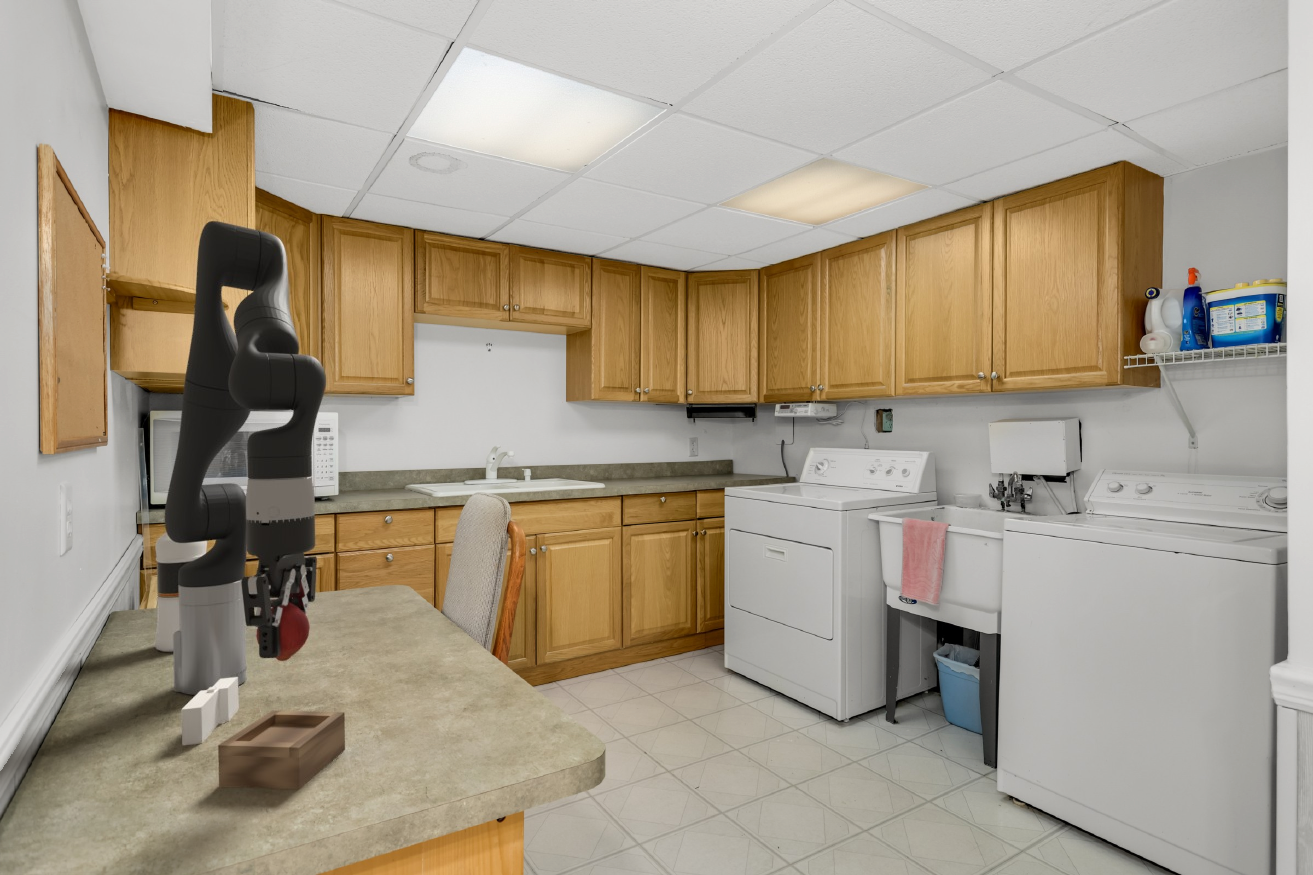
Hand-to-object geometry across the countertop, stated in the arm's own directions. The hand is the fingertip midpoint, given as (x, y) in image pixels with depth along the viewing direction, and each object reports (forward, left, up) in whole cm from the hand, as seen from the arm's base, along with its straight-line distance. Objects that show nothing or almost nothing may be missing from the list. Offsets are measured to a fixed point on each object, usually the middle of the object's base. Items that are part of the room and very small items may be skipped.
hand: (283, 647), depth 86 cm
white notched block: (-16, +13, -16) cm, 26 cm away
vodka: (-45, +51, -15) cm, 70 cm away
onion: (0, 0, -2) cm, 2 cm away
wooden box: (0, 0, -15) cm, 15 cm away
